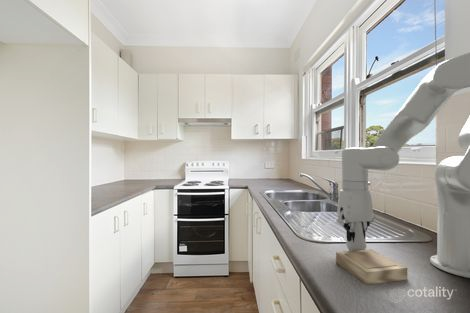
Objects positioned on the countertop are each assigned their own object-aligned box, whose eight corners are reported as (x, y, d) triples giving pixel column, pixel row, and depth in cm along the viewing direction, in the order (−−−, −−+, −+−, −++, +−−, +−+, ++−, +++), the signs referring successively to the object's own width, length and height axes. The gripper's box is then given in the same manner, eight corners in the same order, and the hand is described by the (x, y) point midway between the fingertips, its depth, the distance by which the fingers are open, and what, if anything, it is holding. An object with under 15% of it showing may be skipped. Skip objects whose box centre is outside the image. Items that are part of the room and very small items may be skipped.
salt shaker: (369, 256, 72) (368, 214, 72) (349, 255, 73) (348, 213, 73) (362, 249, 78) (362, 210, 78) (344, 248, 79) (343, 209, 79)
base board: (370, 259, 71) (371, 248, 71) (407, 279, 60) (407, 267, 60) (336, 262, 69) (336, 251, 69) (366, 284, 57) (367, 271, 57)
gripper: (367, 183, 81) (368, 236, 81) (325, 185, 78) (326, 241, 78) (386, 186, 74) (387, 244, 74) (340, 188, 70) (341, 249, 70)
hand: (356, 242), depth 76 cm, fingers closed on salt shaker, 3 cm apart
